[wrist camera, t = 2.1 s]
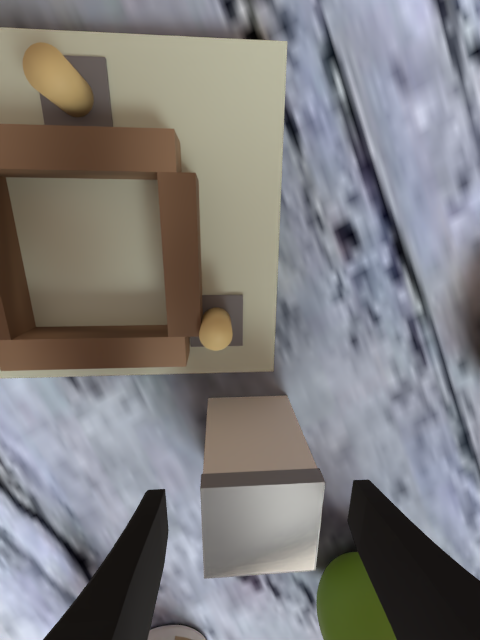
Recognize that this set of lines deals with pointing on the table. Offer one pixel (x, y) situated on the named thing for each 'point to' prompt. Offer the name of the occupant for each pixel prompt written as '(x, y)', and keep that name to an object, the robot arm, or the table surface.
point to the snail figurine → (350, 603)
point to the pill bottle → (174, 633)
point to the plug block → (258, 490)
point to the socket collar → (176, 233)
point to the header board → (152, 186)
